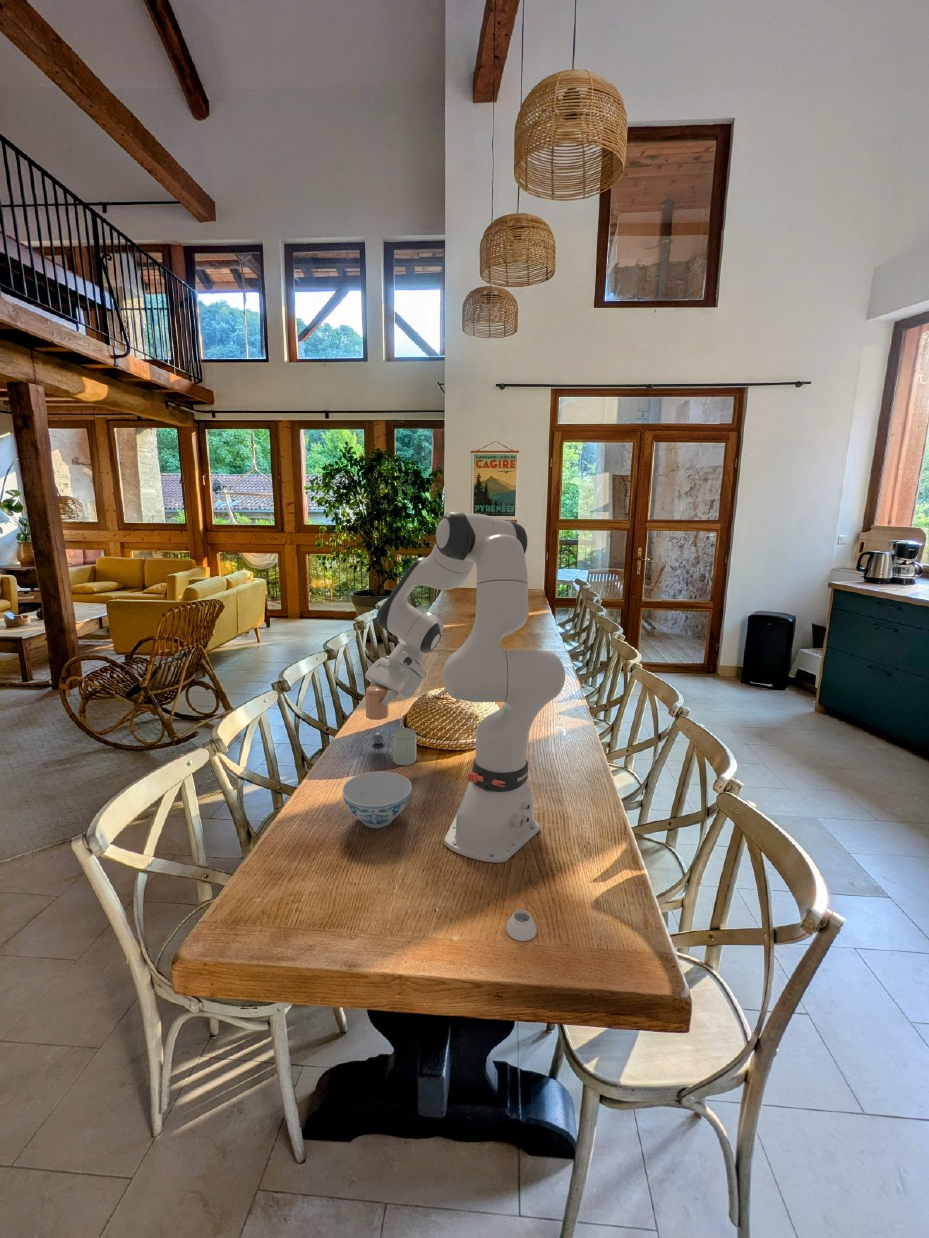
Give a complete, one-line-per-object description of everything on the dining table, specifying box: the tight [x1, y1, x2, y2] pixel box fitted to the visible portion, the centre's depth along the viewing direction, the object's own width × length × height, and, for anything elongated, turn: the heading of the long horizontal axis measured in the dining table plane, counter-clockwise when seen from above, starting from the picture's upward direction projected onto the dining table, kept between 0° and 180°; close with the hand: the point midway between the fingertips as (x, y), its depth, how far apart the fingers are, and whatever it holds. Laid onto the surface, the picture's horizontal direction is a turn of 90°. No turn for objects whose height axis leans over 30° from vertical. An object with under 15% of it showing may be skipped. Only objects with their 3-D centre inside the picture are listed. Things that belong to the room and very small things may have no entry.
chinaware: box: [341, 770, 413, 829], centre depth 124 cm, size 15×15×8 cm
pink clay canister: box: [364, 686, 390, 721], centre depth 160 cm, size 6×6×8 cm
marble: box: [371, 732, 385, 745], centre depth 163 cm, size 3×3×3 cm
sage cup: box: [392, 727, 417, 766], centre depth 152 cm, size 6×6×8 cm
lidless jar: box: [505, 909, 538, 942], centre depth 93 cm, size 5×3×5 cm
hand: (375, 700), depth 160 cm, fingers closed on pink clay canister, 6 cm apart
